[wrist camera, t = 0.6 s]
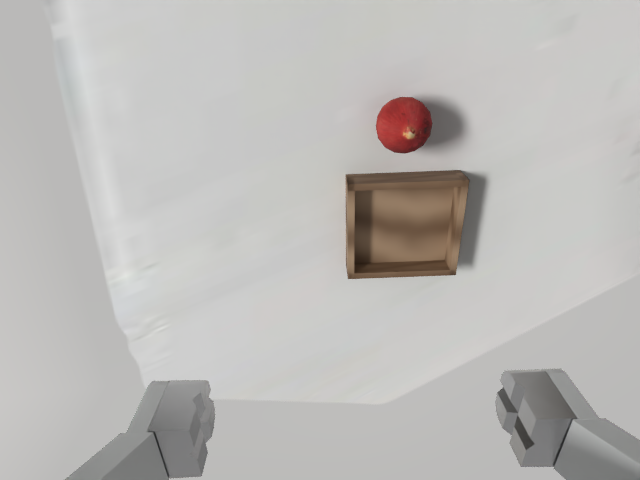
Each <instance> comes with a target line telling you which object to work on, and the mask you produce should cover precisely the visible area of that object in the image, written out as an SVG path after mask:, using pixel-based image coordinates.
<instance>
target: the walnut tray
mask: <svg viewBox="0 0 640 480" xmlns="http://www.w3.org/2000/svg"><path fill="white" fill-rule="evenodd" d="M468 186H469V179H468V178H467V177H466V176H465V175H464V174H463V173H462V172H461V171H460V170H454V171H427V172H401V173H375V174H348V175H346V267H347V274H348V279H360V278H387V277H414V276H441V275H456V269H457V262H458V255H459V248H460V241H461V234H462V228H463V221H464V214H465V207H466V200H467V193H468Z"/></svg>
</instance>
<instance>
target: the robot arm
mask: <svg viewBox="0 0 640 480" xmlns="http://www.w3.org/2000/svg"><path fill="white" fill-rule="evenodd" d="M500 381H501V383H502V385H503V388H502V389H501V390H500V391H499V392H498V393H497V397H496V411H497V415H498V419H499V421H500V423H501V425H502V428H503V429H504V430H506V431H507V432H508V433H510V434H511V435H512V437H511V440H510V445H511V447H512V449H513V451H514V453H515V455H516V457H517V460H518V462H519V464H520V466H521V467H554V469H555V470H556V471H557V472H558V473H559V474H560V475H562V476H563V477H564V478H565V479H566V480H640V440H639V439H637V438H635V437H634V436H632V435H631V434H629V433H628V432H626V431H625V430H623V429H621V428H620V427H618V426H617V425H615V424H613V423H612V422H610V421H609V420H607V419H605V418H604V419H601V418H599V417H598V416H597V414H596V413H595V412H594V410H593V409H592V407H591V406H590V405H589V403H588V402H587V401H586V399H585V398H584V397H583V395H582V394H581V393H580V391H579V390H578V388H577V387H576V386H575V385H574V383H573V382H572V380H571V379H570V378H569V377H568V375H567V374H566V372H565V371H563V370H562V369H542V370H539V369H535V370H512V371H505V372H503V374H502V376H501V380H500ZM210 390H211V389H210V385H209V381H206V380H180V381H152V382H151V383H150V384H149V385H148V387H147V389H146V391H145V393H144V396H143V398H142V400H141V402H140V404H139V406H138V409H137V411H136V413H135V415H134V417H133V419H132V421H131V424H130V426H129V428H128V430H127V432H126V433H120V434H119V435H118V436H117V437H116V438H114V439H113V440H112V441H111V442H109V443H108V444H107V445H106V446H105V447H103V448H102V449H101V450H100V451H99V452H98V453H96V454H95V455H94V456H93V457H92V458H90V459H89V460H88V461H87V462H85V463H84V464H83V465H82V466H81V467H79V468H78V469H77V470H76V471H75V472H73V473H72V474H71V475H70V476H69V477H67V478H66V479H65V480H169V478H183V477H199V476H202V473H203V469H204V465H205V461H206V457H207V453H208V452H207V447H206V442H207V441H208V440H209V439H210V438H211V437H212V433H213V428H214V420H215V409H214V403H213V401H212V400H211V399H210V398H209V394H210Z"/></svg>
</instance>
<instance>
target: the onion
mask: <svg viewBox="0 0 640 480" xmlns="http://www.w3.org/2000/svg"><path fill="white" fill-rule="evenodd" d="M431 127H432V120H431V115H430V112H429V110H428V109H427V108H426V107H425V106H424V104H423V103H422V102H420V101H418V100H416V99H414V98H412V97H399V98H396V99H393V100H391V101H389V102H388V103H387V104H386V105H384V106H383V107H382V109H381V111H380V113H379V115H378V117H377V124H376V130H377V134H378V138H379V140H380V141H381V143H382V144H383V145H384V147H386V148H387V149H389V150H391V151H393V152H396V153H408V152H412V151H415V150H417V149H418V148H420V147H421V146H423V145H424V143H425V142H426V140H427V139H428V137H429V136H430V132H431Z"/></svg>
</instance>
